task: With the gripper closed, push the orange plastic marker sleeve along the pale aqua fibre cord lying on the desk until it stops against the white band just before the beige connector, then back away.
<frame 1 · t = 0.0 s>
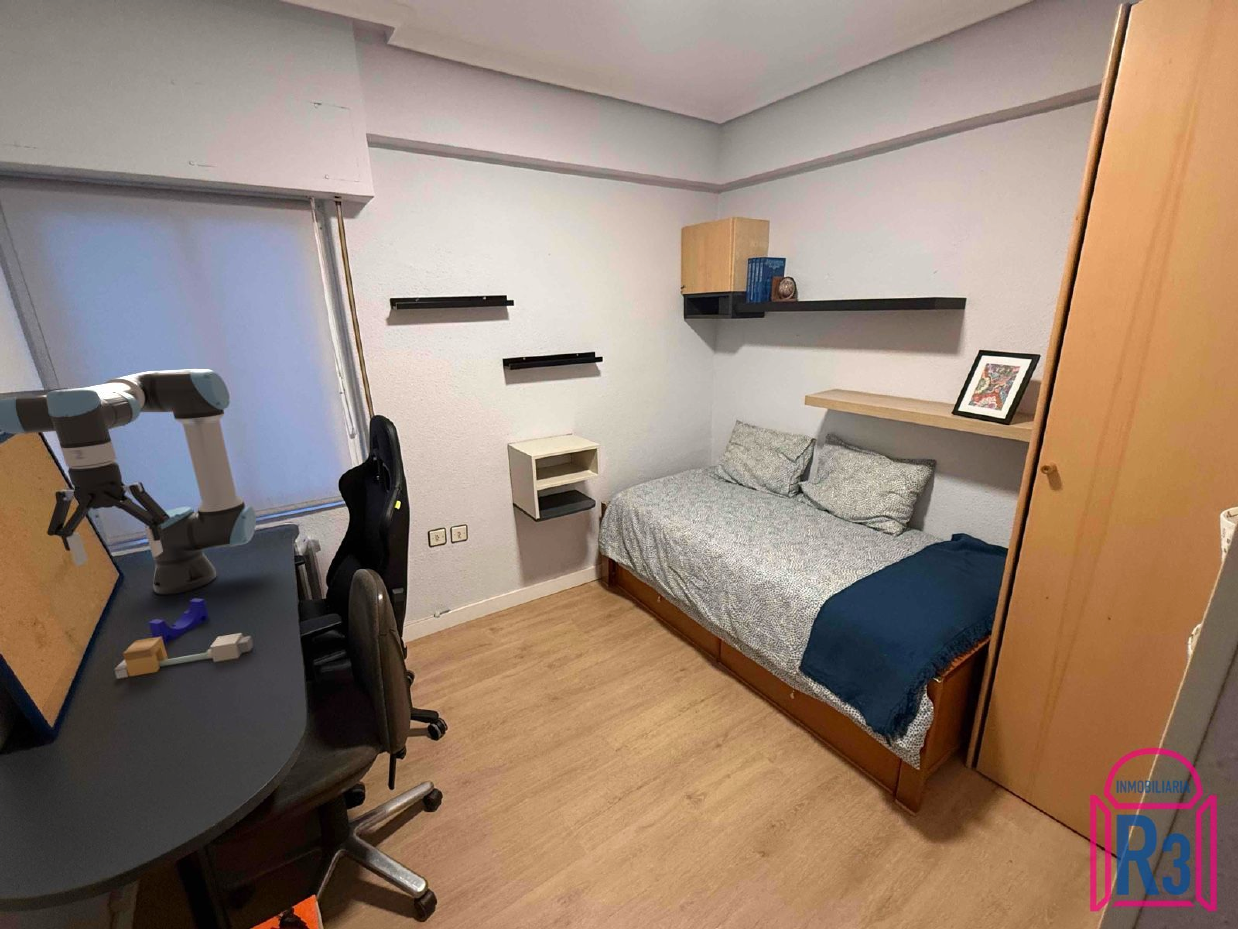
hand: (120, 558, 115), 28 cm above the table, fingers open, 13 cm apart
cord run: (182, 662, 124), on the table
sleeve: (146, 656, 122), point 3 cm above the table, slide at 0.0 cm
cable clip: (180, 631, 138), on the table
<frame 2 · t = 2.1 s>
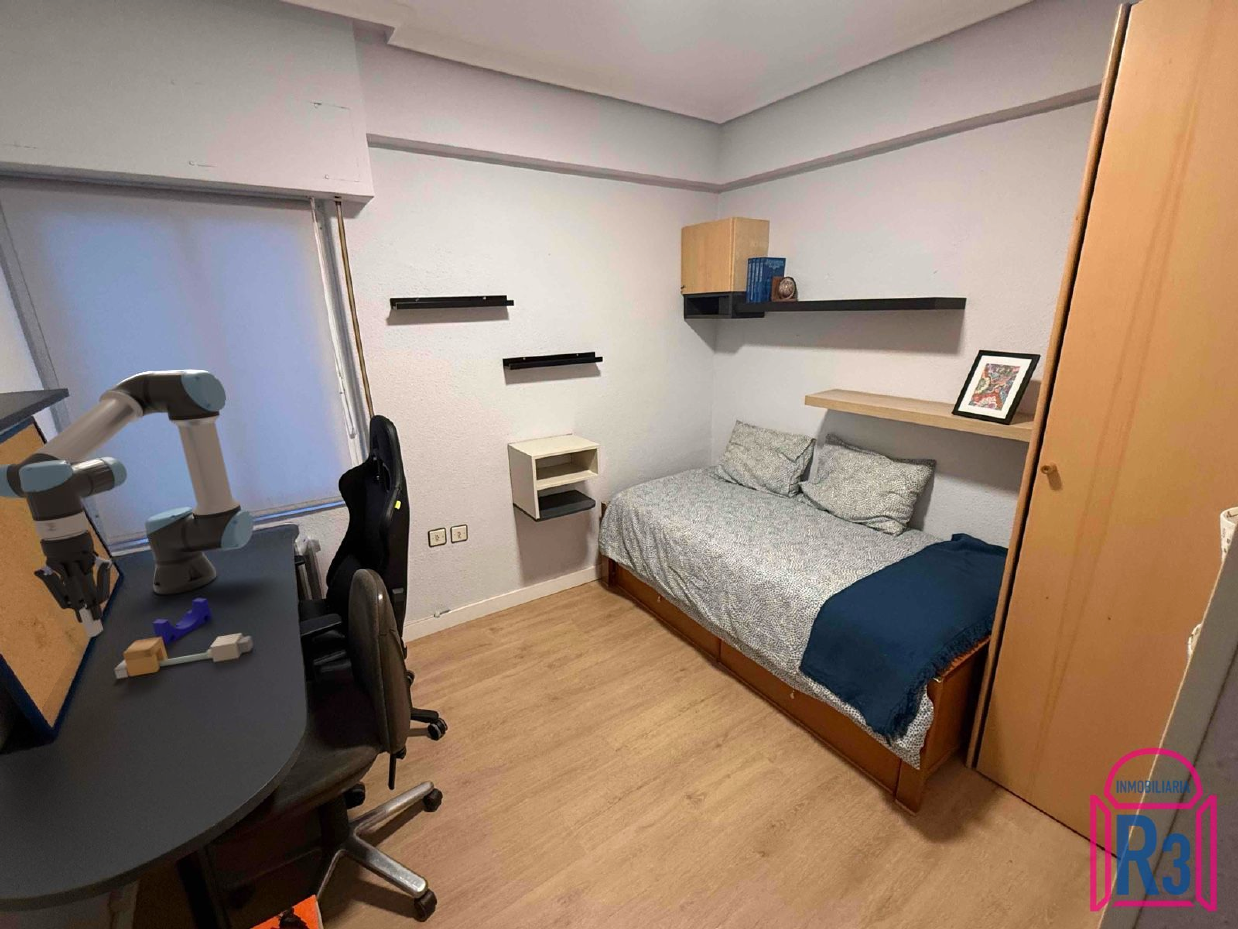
hand: (95, 633, 117), 11 cm above the table, fingers closed
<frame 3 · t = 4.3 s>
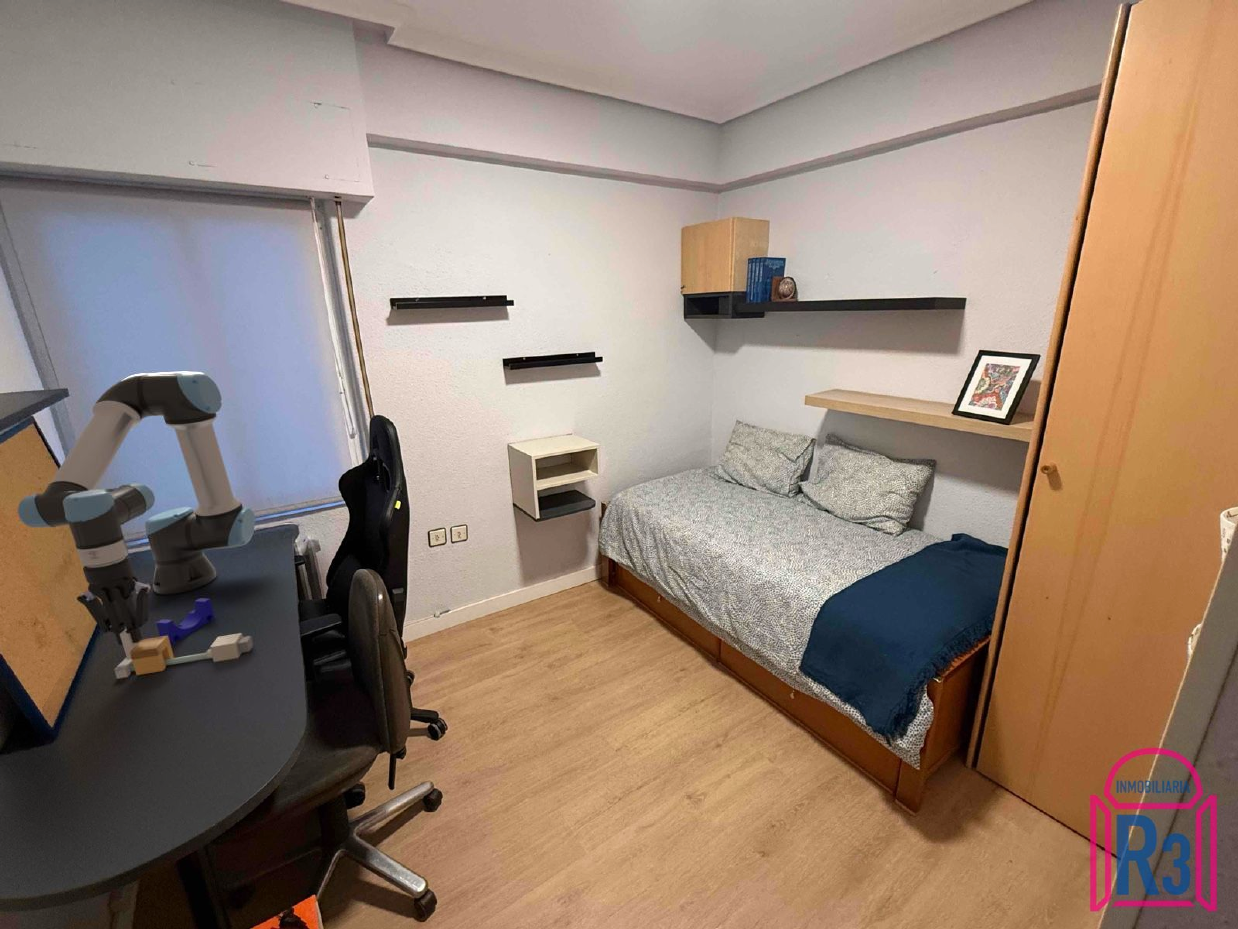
hand: (134, 655, 121), 4 cm above the table, fingers closed
sleeve: (152, 655, 122), point 3 cm above the table, slide at 1.2 cm, touching gripper
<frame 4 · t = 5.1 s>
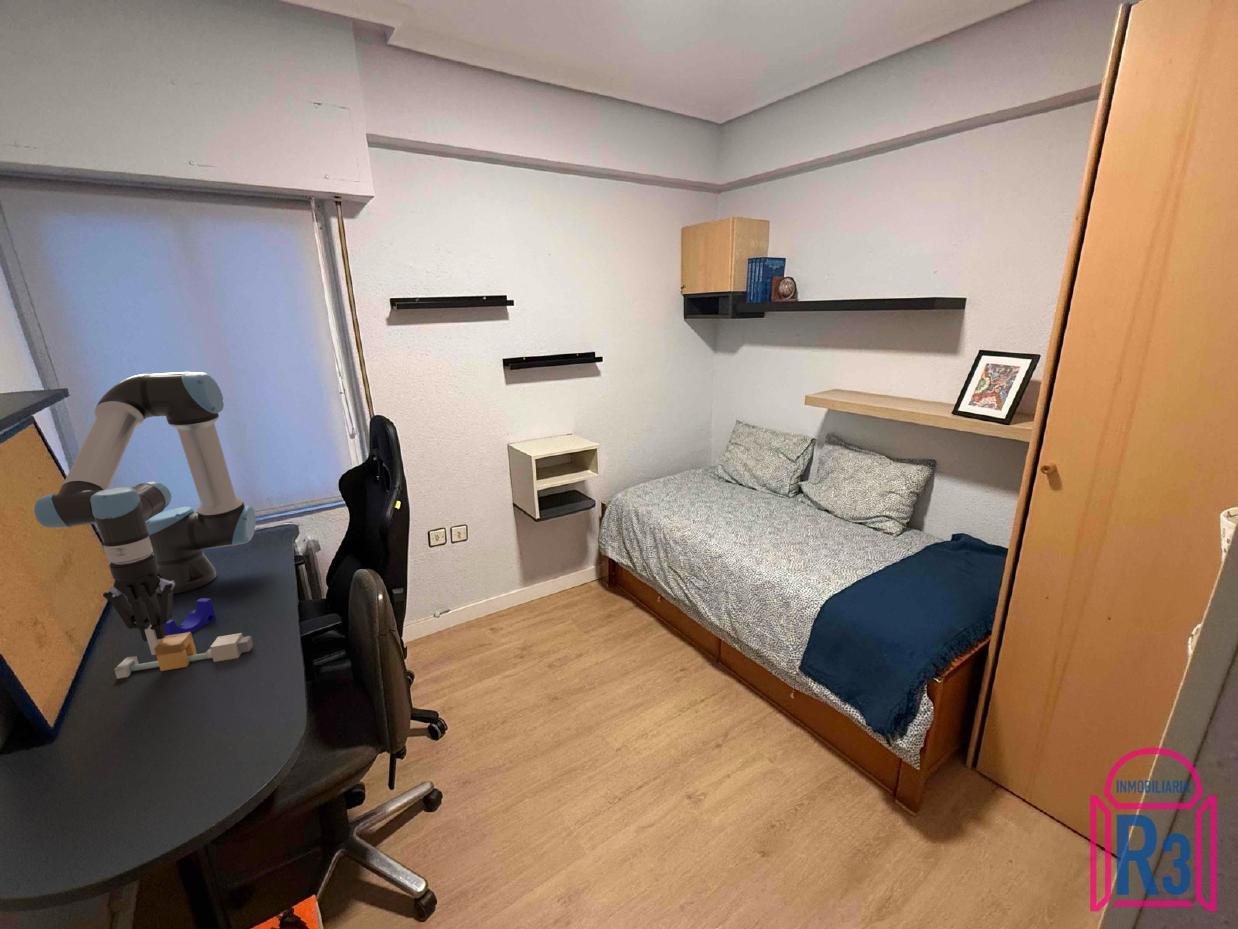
hand: (158, 651, 122), 4 cm above the table, fingers closed
sleeve: (176, 651, 123), point 3 cm above the table, slide at 5.9 cm, touching gripper
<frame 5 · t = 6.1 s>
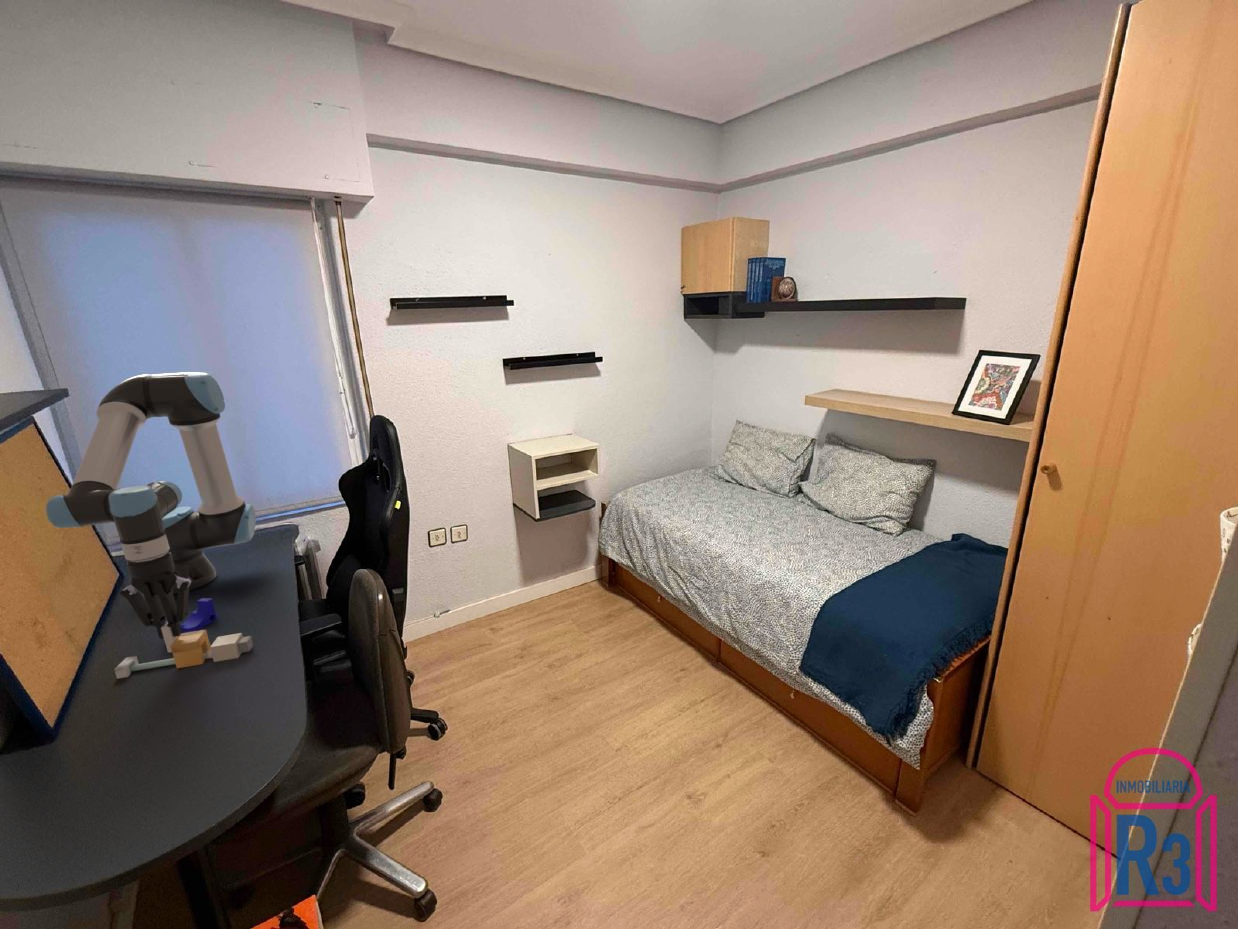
hand: (174, 648, 123), 4 cm above the table, fingers closed
sleeve: (191, 648, 124), point 3 cm above the table, slide at 9.0 cm, touching gripper
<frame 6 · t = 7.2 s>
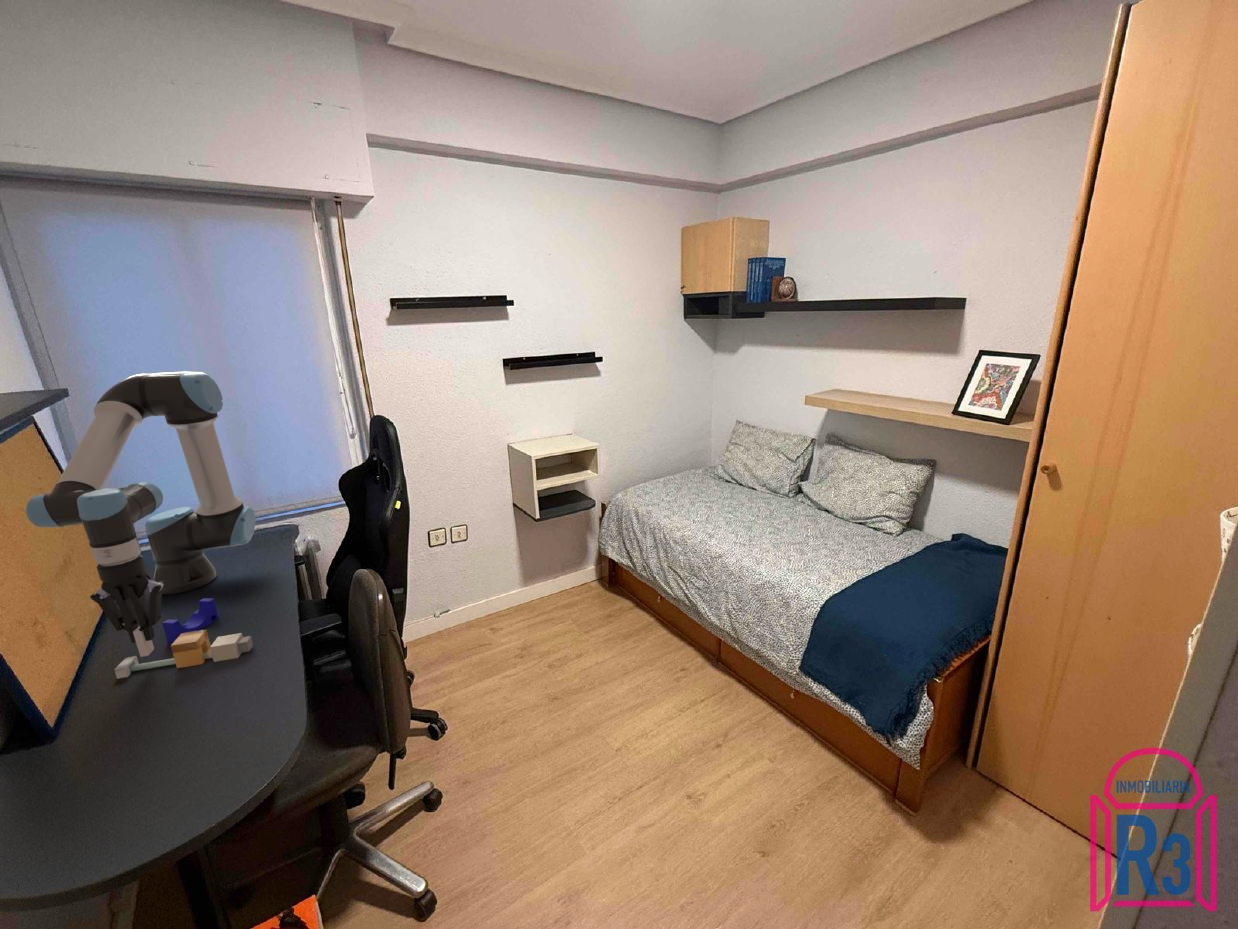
hand: (147, 652, 122), 4 cm above the table, fingers closed
sleeve: (191, 648, 124), point 3 cm above the table, slide at 9.0 cm
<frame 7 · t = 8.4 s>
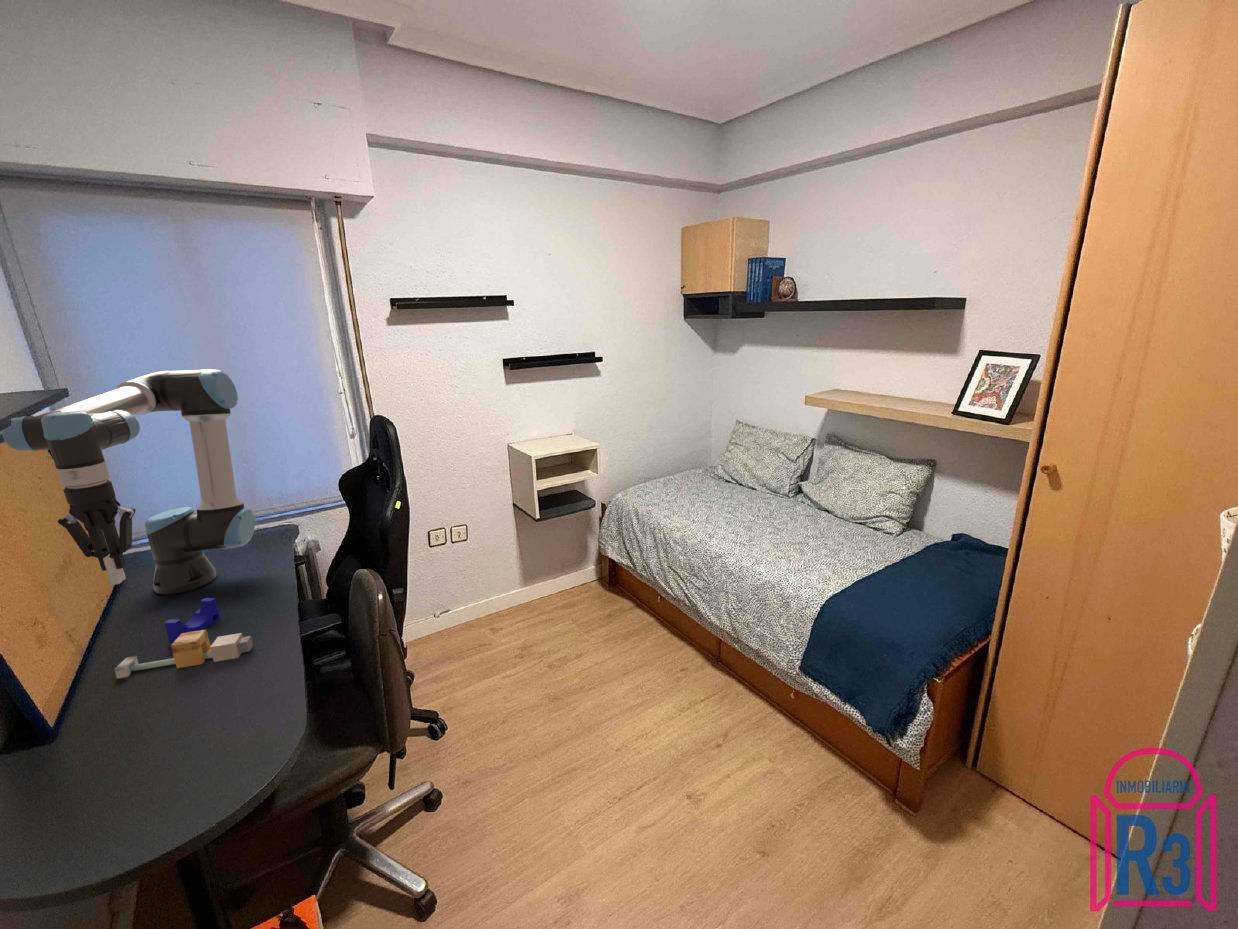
hand: (118, 581, 120), 21 cm above the table, fingers closed
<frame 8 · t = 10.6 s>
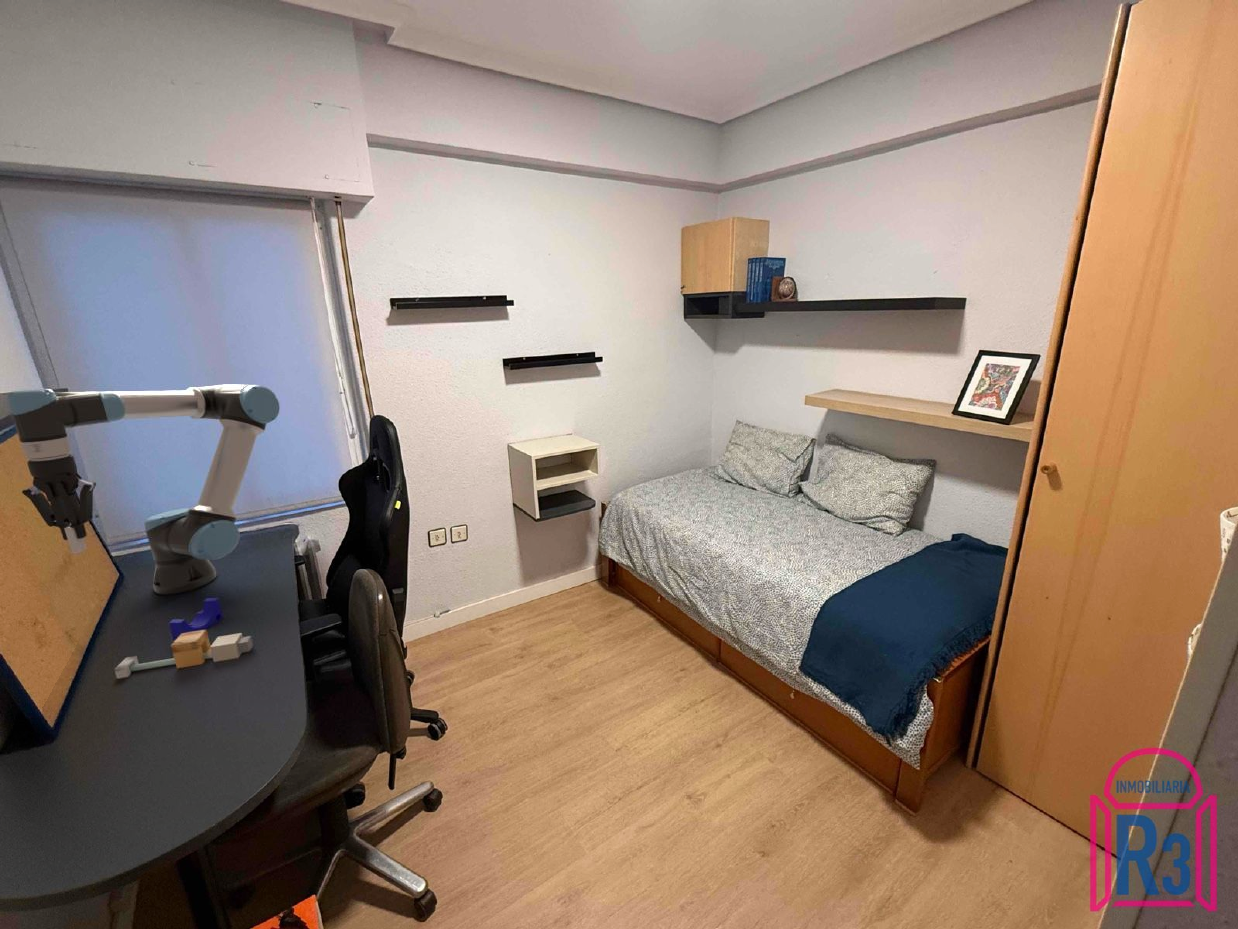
hand: (79, 550, 128), 24 cm above the table, fingers closed
at the end: sleeve slide at 9.0 cm; the gripper is holding nothing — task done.
